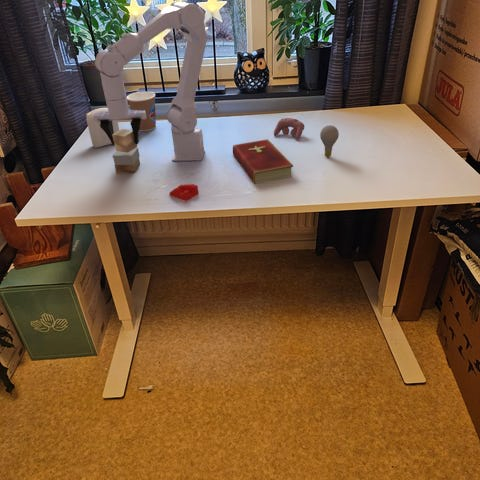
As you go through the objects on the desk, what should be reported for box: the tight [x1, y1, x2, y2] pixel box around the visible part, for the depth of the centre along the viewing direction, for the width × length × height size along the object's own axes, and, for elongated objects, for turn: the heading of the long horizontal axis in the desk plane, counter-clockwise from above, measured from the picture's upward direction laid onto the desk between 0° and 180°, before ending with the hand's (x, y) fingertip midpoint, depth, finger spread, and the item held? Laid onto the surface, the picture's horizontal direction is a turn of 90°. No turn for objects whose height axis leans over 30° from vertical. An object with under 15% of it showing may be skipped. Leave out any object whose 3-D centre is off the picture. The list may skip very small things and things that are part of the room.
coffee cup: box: [126, 91, 157, 132], centre depth 162 cm, size 10×10×12 cm
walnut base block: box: [114, 157, 141, 174], centre depth 137 cm, size 6×6×3 cm
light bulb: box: [319, 124, 340, 158], centre depth 134 cm, size 5×6×10 cm
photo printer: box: [85, 107, 120, 149], centre depth 151 cm, size 10×4×12 cm, turn 123°
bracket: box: [169, 183, 199, 202], centre depth 121 cm, size 6×5×3 cm
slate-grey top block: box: [112, 146, 141, 166], centre depth 135 cm, size 6×6×3 cm
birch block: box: [112, 128, 138, 153], centre depth 129 cm, size 4×4×5 cm
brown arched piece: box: [273, 117, 305, 141], centre depth 151 cm, size 10×5×7 cm, turn 58°
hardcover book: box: [232, 138, 294, 185], centre depth 134 cm, size 12×21×4 cm, turn 17°
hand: (125, 143), depth 130 cm, fingers closed on birch block, 6 cm apart
